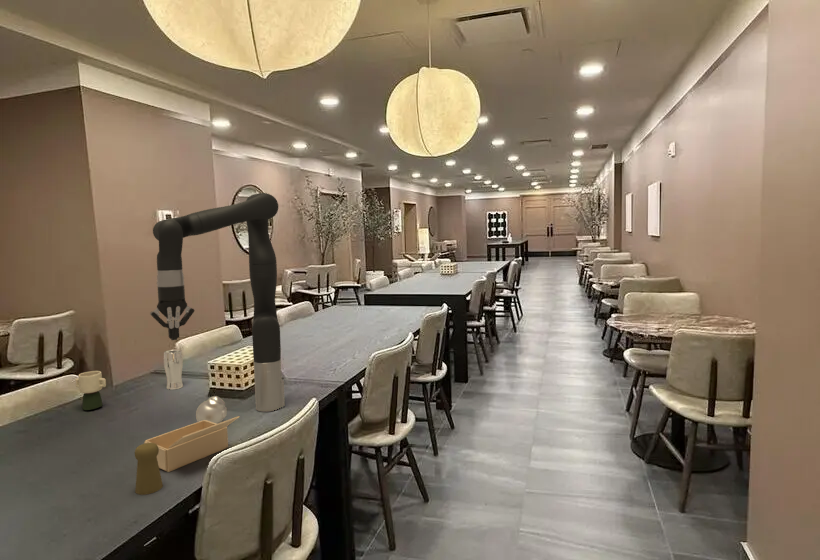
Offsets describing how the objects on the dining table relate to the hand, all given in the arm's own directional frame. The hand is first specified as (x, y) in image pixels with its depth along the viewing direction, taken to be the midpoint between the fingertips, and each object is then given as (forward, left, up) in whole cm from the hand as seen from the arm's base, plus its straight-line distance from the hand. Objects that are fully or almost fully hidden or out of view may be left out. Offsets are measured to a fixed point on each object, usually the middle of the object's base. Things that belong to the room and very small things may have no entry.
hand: (174, 339), depth 158 cm
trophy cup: (+21, -41, -29) cm, 55 cm away
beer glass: (-8, -50, -29) cm, 58 cm away
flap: (0, +27, -23) cm, 35 cm away
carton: (+2, +21, -29) cm, 36 cm away
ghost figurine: (-9, +4, -29) cm, 31 cm away
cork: (+14, +36, -29) cm, 48 cm away
